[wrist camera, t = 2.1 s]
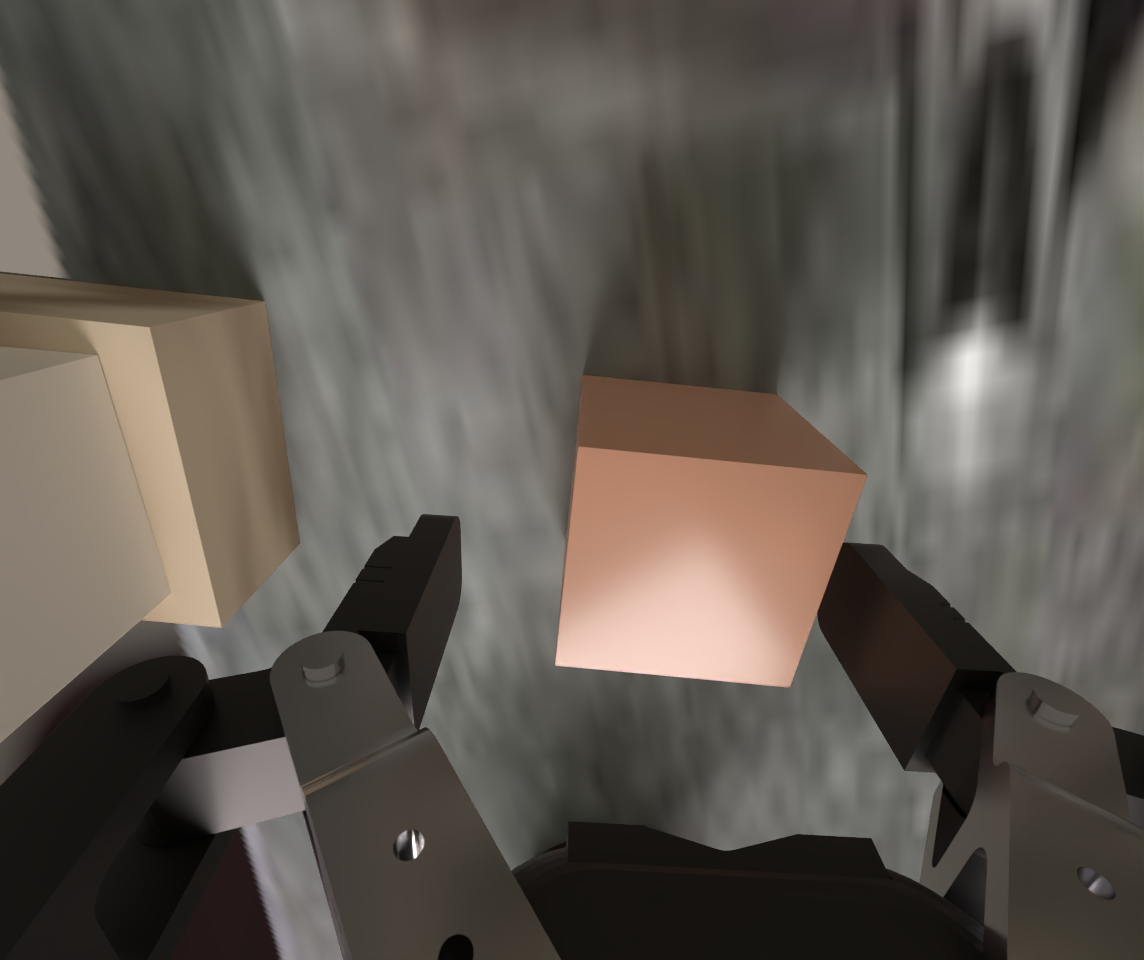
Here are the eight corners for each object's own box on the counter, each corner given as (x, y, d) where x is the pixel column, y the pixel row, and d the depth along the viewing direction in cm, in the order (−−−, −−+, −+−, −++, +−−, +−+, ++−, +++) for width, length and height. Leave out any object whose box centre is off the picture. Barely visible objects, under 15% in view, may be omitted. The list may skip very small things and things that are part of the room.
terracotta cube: (775, 393, 14) (867, 474, 9) (732, 555, 16) (789, 687, 11) (582, 373, 14) (578, 446, 9) (565, 539, 16) (554, 665, 11)
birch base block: (270, 300, 13) (149, 327, 10) (303, 538, 16) (221, 627, 13) (-13, 269, 13) (-243, 286, 10) (73, 515, 16) (-76, 598, 13)
